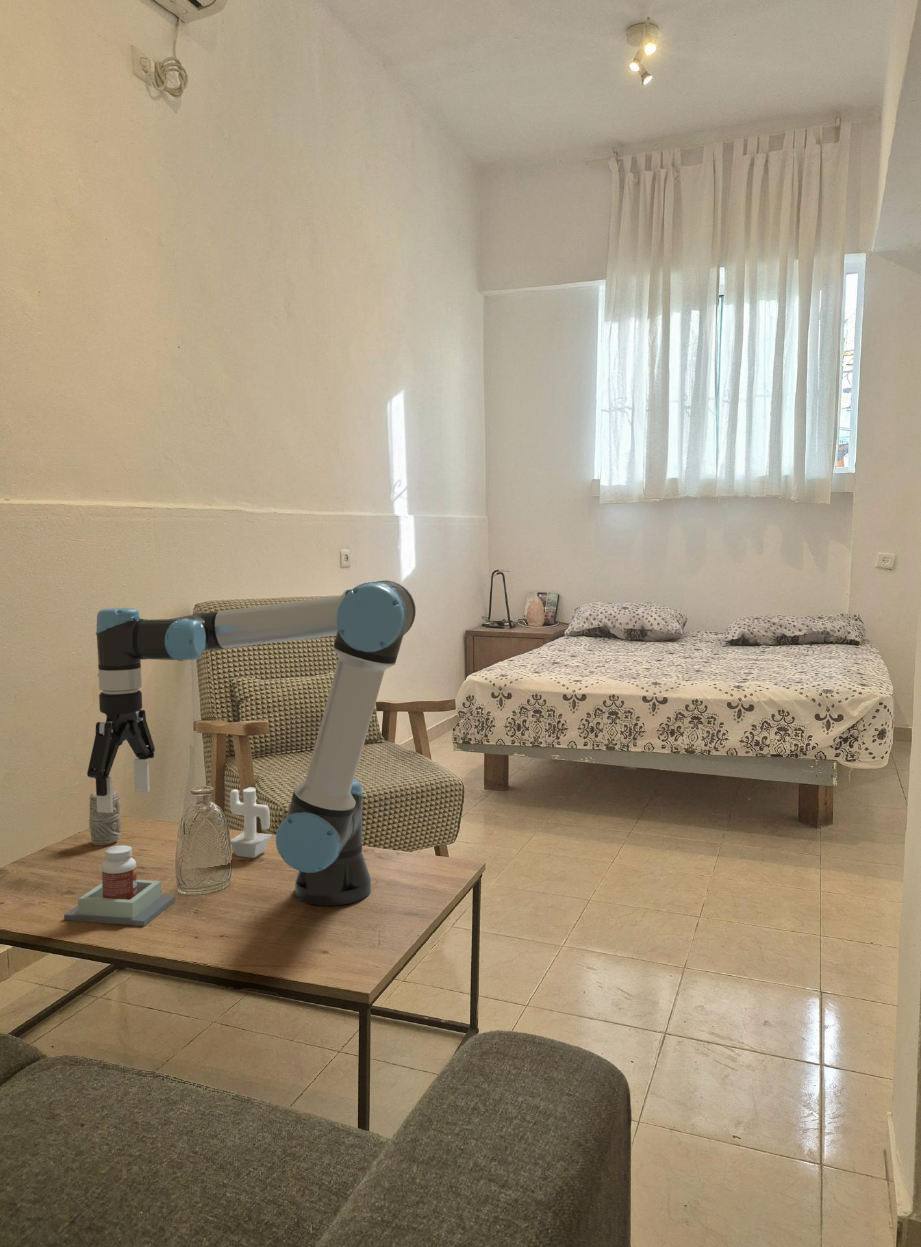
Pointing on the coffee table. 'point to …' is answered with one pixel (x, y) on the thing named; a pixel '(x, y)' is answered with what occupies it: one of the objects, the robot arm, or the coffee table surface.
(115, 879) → the pill bottle
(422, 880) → the coffee table surface
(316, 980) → the coffee table surface
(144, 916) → the bottle holder
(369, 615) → the robot arm
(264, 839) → the figurine
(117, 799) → the carving
